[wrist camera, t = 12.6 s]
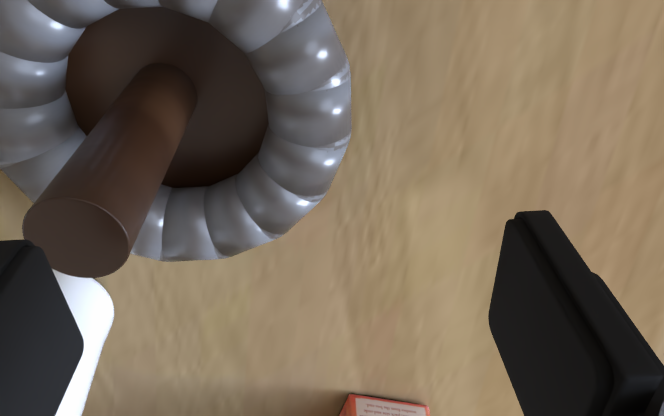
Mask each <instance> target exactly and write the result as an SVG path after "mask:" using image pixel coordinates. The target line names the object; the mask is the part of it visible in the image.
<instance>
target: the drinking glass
mask: <svg viewBox="0 0 664 416" xmlns="http://www.w3.org/2000/svg"><path fill="white" fill-rule="evenodd" d="M52 270H53V273H54V275H55V277H56V279H57V281H58V284H59V286H60V288H61V290H62V292H63V295H64V297H65V299H66V301H67V303H68V306H69V308H70V310H71V312H72V314H73V317H74V319H75V321H76V323H77V325H78V328H79V330H80V332H81V334H82V337H83V340H84V350H83V354H82V357H81V359H80V361H79V363H78V366H77V368H76V370H75V372H74V375H73V377H72V379H71V381H70V384H69V386H68V388H67V390H66V393H65V395H64V397H63V399H62V402H61V404H60V406H59V408H58V410H57V413H56V415H55V416H82V414H83V410H84V407H85V404H86V400H87V397H88V394H89V390H90V387H91V384H92V381H93V377H94V374H95V371H96V368H97V364H98V361H99V358H100V355H101V352H102V349H103V346H104V343H105V341H106V338H107V336H108V334H109V331H110V329H111V326H112V323H113V320H114V305H113V302H112V299H111V297H110V295H109V294H108V292H107V291H106V290H105V289H104V287H103V286H102V285H101V284H99V283H98V282H97V281H96V280H94V279H93V278H79V277H73V276H69V275H66V274H63V273H60V272H58V271H56V270H54V269H52Z"/></svg>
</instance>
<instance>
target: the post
mask: <svg viewBox="0 0 664 416" xmlns="http://www.w3.org/2000/svg"><path fill="white" fill-rule="evenodd" d="M65 90H66V93H67V96H68V99H69V102H70V105H71V107H72V110H73V113H74V116H75V119H76V122H77V125H78V126H79V127H80V129H81V130H82V131H83V132H84V133H85V135H86V136H87V137H86V138H85V139H84V141H83V142H82V143H81V144H80V146H79V147H78V148H77V150H76V151H75V152H74V153H73V155H72V156H71V157H70V158H69V160H68V161H67V162H66V163H65V165H64V166H63V167H62V168H61V170H60V171H59V172H58V174H57V175H56V176H55V177H54V179H53V180H52V181H51V182H50V184H49V185H48V186H47V187H46V189H45V190H44V191H43V192H42V194H41V195H40V196H39V198H38V199H37V200H36V201H35V203H34V204H33V205H32V206H31V208H30V209H29V210H28V211H27V213H26V215H25V217H24V220H23V225H22V230H23V236H24V239H25V240H30V241H31V242H32V243H33V244H34V245H35V246H39V247H41V248H42V249H43V251H44V253H45V255H46V257H47V259H48V262H49V264H50V266H51V268H52V269H54V270H56V271H58V272H60V273H63V274H66V275H69V276H73V277H79V278H97V277H103V276H106V275H109V274H111V273H113V272H115V271H117V270H118V269H119V268H121V267H122V266H123V265H124V263H125V262H126V261H127V259H128V257H129V254H130V252H131V250H132V248H133V246H134V243H135V241H136V239H137V237H138V234H139V232H140V230H141V228H142V226H143V223H144V221H145V219H146V217H147V214H148V212H149V210H150V208H151V205H152V203H153V201H154V199H155V197H156V194H157V192H158V190H159V188H160V185H161V184H162V185H165V186H169V187H172V188H183V187H202V186H211V185H213V184H216V183H218V182H220V181H223V180H225V179H227V178H229V177H232V176H234V175H236V174H239V173H240V172H241V171H242V170H243V169H244V167H245V166H246V165H247V164H248V163H249V162H250V161H251V160H252V159H253V158H254V157H255V156H256V155H257V154H258V153H259V151H260V148H261V145H262V142H263V139H264V136H265V133H266V130H267V127H268V124H269V122H268V113H267V105H266V96H265V88H264V87H263V85H262V83H261V81H260V80H259V78H258V76H257V74H256V72H255V71H254V69H253V67H252V65H251V64H250V62H249V60H248V58H247V56H246V55H245V53H244V52H243V51H242V50H241V49H240V48H238V47H237V46H236V45H235V44H234V43H232V42H231V41H230V40H229V39H228V38H226V37H225V36H224V35H223V34H222V33H220V32H219V31H218V30H217V29H216V28H214V27H213V26H212V25H211V24H210V23H208V22H205V21H203V20H200V19H197V18H194V17H191V16H188V15H185V14H183V13H180V12H177V11H174V10H171V9H168V8H166V7H145V8H124V9H118V10H116V11H114V12H113V13H111V14H109V15H107V16H105V17H103V18H101V19H100V20H98V21H96V22H94V23H92V24H90V25H88V26H87V27H86V28H85V30H84V32H83V33H82V35H81V36H80V38H79V39H78V41H77V42H76V44H75V45H74V47H73V48H72V50H71V52H70V53H69V55H68V64H67V75H66V87H65Z"/></svg>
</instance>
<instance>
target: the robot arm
mask: <svg viewBox="0 0 664 416" xmlns="http://www.w3.org/2000/svg"><path fill="white" fill-rule="evenodd" d="M489 326H490V330H491V333H492V335H493V338H494V340H495V343H496V345H497V348H498V350H499V353H500V355H501V358H502V360H503V363H504V365H505V368H506V371H507V373H508V376H509V378H510V381H511V383H512V386H513V388H514V391H515V393H516V396H517V398H518V401H519V403H520V406H521V408H522V411H523V413H524V416H664V366H663V364H662V363H661V361H660V360H659V359H658V357H657V356H656V354H655V353H654V352H653V350H652V349H651V347H650V346H649V345H648V343H647V342H646V340H645V339H644V337H643V336H642V335H641V333H640V332H639V330H638V329H637V328H636V326H635V325H634V323H633V322H632V321H631V319H630V318H629V316H628V315H627V313H626V312H625V311H624V309H623V308H622V306H621V305H620V304H619V302H618V301H617V299H616V298H615V297H614V295H613V294H612V292H611V291H610V290H609V288H608V287H607V285H606V284H605V282H604V281H603V280H602V279H601V278H600V277H599V276H598V275H597V274H595V273H593V272H591V271H590V269H589V268H588V266H587V265H586V263H585V262H584V261H583V259H582V258H581V256H580V255H579V253H578V252H577V251H576V249H575V248H574V246H573V245H572V243H571V242H570V240H569V239H568V238H567V236H566V235H565V233H564V232H563V230H562V229H561V228H560V226H559V225H558V223H557V222H556V220H555V219H554V217H553V216H552V215H551V213H550V212H549V211H546V210H542V211H524V212H518V213H517V214H516V215H515V218H514V219H509V220H508V221H507V222H506V225H505V230H504V236H503V241H502V246H501V251H500V256H499V262H498V267H497V272H496V277H495V283H494V288H493V293H492V298H491V304H490V309H489ZM83 350H84V340H83V337H82V334H81V332H80V330H79V328H78V325H77V323H76V321H75V319H74V317H73V314H72V312H71V310H70V308H69V306H68V303H67V301H66V299H65V297H64V295H63V292H62V290H61V288H60V286H59V284H58V281H57V279H56V277H55V275H54V273H53V270H52V268H51V266H50V264H49V262H48V259H47V257H46V255H45V253H44V251H43V249H42V248H41V247H39V246H35V245H34V244H33V243H32V242H31V241H30V240H9V241H0V416H55V415H56V413H57V410H58V408H59V406H60V404H61V402H62V399H63V397H64V395H65V393H66V390H67V388H68V386H69V384H70V381H71V379H72V377H73V375H74V372H75V370H76V368H77V366H78V363H79V361H80V359H81V357H82V354H83Z"/></svg>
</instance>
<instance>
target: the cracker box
mask: <svg viewBox="0 0 664 416" xmlns="http://www.w3.org/2000/svg"><path fill="white" fill-rule="evenodd" d="M339 416H430V412H429V408H428V406H426V405H419V404H413V403H407V402H400V401H394V400H387V399H381V398H374V397H368V396H361V395H355V394H349V395H348V398H347V400H346V402H345V404H344V407H343V409H342V411H341V413H340V415H339Z"/></svg>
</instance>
